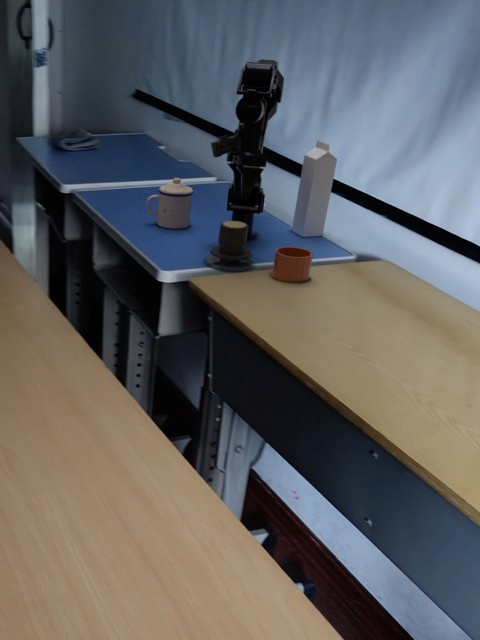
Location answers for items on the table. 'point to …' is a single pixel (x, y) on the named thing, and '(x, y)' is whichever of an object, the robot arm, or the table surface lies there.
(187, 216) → the teacup with lid
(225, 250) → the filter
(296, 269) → the cup
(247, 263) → the saucer
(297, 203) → the milk
